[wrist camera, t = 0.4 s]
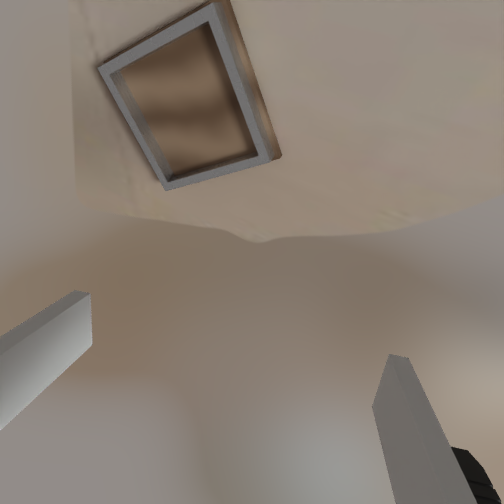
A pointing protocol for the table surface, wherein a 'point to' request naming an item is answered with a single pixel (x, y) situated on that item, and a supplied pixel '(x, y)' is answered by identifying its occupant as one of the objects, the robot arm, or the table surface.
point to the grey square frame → (239, 81)
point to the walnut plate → (196, 98)
